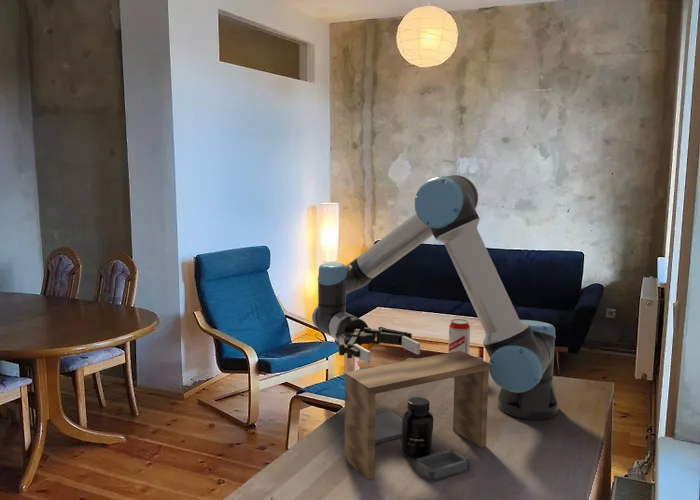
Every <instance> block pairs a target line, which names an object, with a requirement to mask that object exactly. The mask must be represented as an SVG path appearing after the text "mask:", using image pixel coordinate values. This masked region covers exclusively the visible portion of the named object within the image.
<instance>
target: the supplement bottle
mask: <svg viewBox="0 0 700 500" xmlns="http://www.w3.org/2000/svg"><path fill="white" fill-rule="evenodd" d="M430 403H431V402H430V401H429V399H427V398H425V397H421V396H416V397H410V398H408V400H407V406H406V410H405V411H404V412H403V414H402V417H401V418H402V437H401V444H400V445H401V449H400V450H401V452H402V454H403V455H404V456H406V457H409V458H411V459H414V460H415V459H418V458H422V457H425V456H429V455H432V451H433V440H434V439H433V437H434V436H433V435H434V434H433V433H434V415H433V414H432V413H431V411H430V410H431V409H430V407H431V406H430Z"/></svg>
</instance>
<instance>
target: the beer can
mask: <svg viewBox="0 0 700 500" xmlns="http://www.w3.org/2000/svg"><path fill="white" fill-rule="evenodd" d="M448 327H449V328H448V351H447V353H451V352H457V351H462V352H464V353H467V354H469V355H470V347H471V345H470V344H471V326H470V324H469V321H468V320H467V319H462V318H453V319H452V320H451V321H450V323H449V326H448Z"/></svg>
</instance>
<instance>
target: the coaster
mask: <svg viewBox="0 0 700 500" xmlns="http://www.w3.org/2000/svg"><path fill="white" fill-rule="evenodd" d="M399 438H402V417H401V416H399V415H397V414H396V413H395V412H393V411H392V410H390V411H385V412H382V413H377V414H376V413H375V444H379V443H383V442H387V441H390V440H394V439H399Z"/></svg>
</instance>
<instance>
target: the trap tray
mask: <svg viewBox="0 0 700 500" xmlns="http://www.w3.org/2000/svg"><path fill="white" fill-rule="evenodd" d="M413 470H414V471H415V472H417V474H419V475H420V476H422V477H423V478H424V479H426V480H427V481H428V482H429V483H431V484H432V483H434V482H438V481H441V480H444V479H446V478H450V477H454V476H457V475H460V474H463V473H466V472H470V471H471V460H470V459H468V458H467V457H465V456H464V455H462V454H460V453H459V452H458V451H456V450H455V449H453V448H450V449H447V450H444V451H443V450H442V451H440V452H437V453H434V454H431V455H429V456H425V457H422V458H418V459H415V458H414V459H413Z"/></svg>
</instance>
